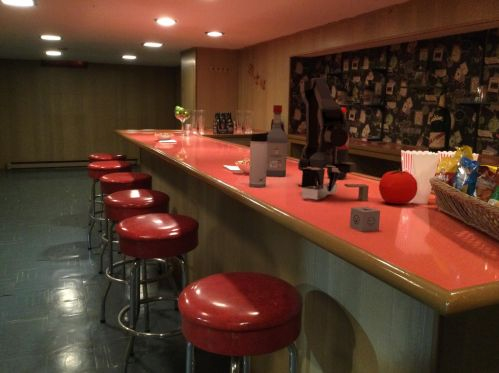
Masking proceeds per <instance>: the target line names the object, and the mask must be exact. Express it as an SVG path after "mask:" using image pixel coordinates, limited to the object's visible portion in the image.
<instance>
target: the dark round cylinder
mask: <svg viewBox="0 0 499 373" xmlns="http://www.w3.org/2000/svg"><path fill="white" fill-rule="evenodd" d="M311 189H316V190H317V189H318V186H312V188H311ZM310 200H311V201H317V200H316V199H310Z"/></svg>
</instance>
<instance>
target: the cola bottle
mask: <svg viewBox="0 0 499 373" xmlns="http://www.w3.org/2000/svg"><path fill="white" fill-rule="evenodd" d="M340 107H341V109H342V110H343V113H344V117H345V120H346V124H345V127H342V129H343V130H345V131H346V133H347V135H348V140H347V142H346V144H345V145H343V146H341V147H339V150H338V151H337V155H336V160H338V163H336V164H339V163H343V162H347V159H348V155H349V151H350V149H349V147H350V146H349V144H350V134H351V131H350V126H349V124H348V121H347V119H346V114H347V109H346V107H343V106H340ZM331 171H332V168H326V174H327V177H328V178H329V179H330V175H329V172H331ZM347 174H348V173H341V174H340V176H339V177H338V179H337V181H338V180H344V179H346V177H347Z"/></svg>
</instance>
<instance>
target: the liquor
mask: <svg viewBox="0 0 499 373" xmlns="http://www.w3.org/2000/svg"><path fill="white" fill-rule="evenodd" d="M272 107H273V108H272V112H273V124H272V128H271V129H270V130H269V131H268V132H269V134H268V135H267V137H268V139H267V141H268V143H267V170H266V177H269V178H271V177H273V178H285V177H286V175H287V158H288V137H287V135H286V133H285V132H284V130H283V129H282V125H281V124H282V122H281V121H282V120H281V119H282V113H283V105H280V104H279V105H276V104H273V106H272Z"/></svg>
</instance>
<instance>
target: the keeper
mask: <svg viewBox="0 0 499 373" xmlns="http://www.w3.org/2000/svg"><path fill="white" fill-rule="evenodd" d="M344 187H347V188H358V197H357V199H358V200H359V201H362V202H369V199H368V198H369V187H370V186H369V185H368V184H365V183H344Z"/></svg>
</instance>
